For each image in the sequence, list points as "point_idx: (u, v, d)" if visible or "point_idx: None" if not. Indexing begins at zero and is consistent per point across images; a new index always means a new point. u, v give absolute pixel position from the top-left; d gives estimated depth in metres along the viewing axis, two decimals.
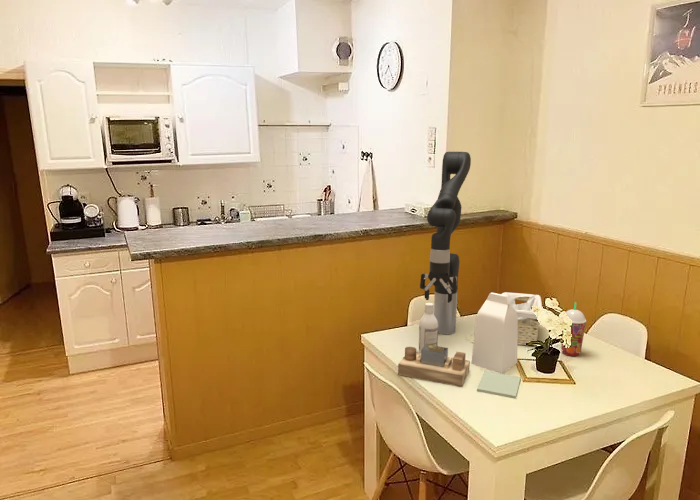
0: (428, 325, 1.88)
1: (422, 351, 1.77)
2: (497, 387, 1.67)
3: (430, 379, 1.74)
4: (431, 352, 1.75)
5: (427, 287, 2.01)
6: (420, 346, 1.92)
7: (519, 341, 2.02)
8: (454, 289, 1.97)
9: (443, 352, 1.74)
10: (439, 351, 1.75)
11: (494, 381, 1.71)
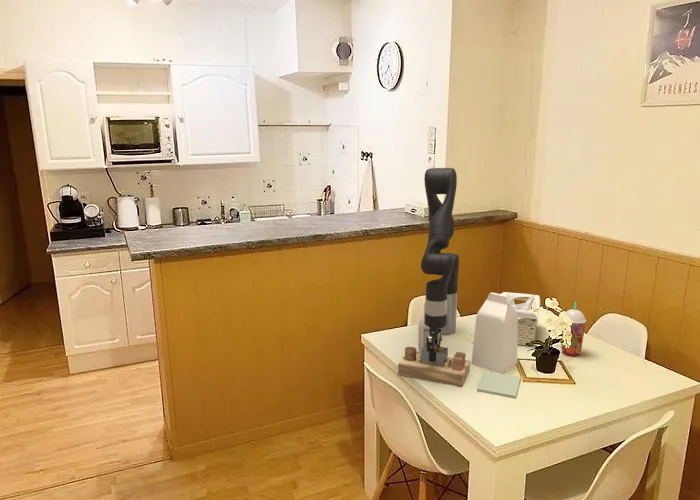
0: None
1: (422, 351, 1.77)
2: (497, 387, 1.67)
3: (430, 379, 1.74)
4: None
5: None
6: (420, 346, 1.92)
7: None
8: (441, 338, 1.81)
9: (443, 352, 1.74)
10: (439, 351, 1.75)
11: (494, 381, 1.71)
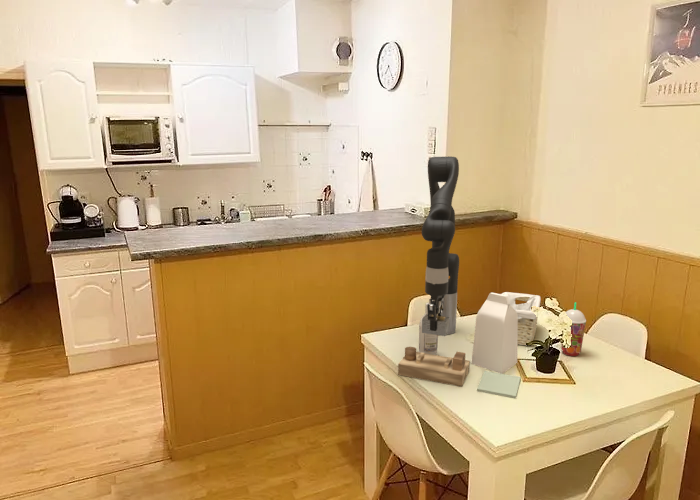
0: None
1: (423, 320, 1.74)
2: (497, 387, 1.67)
3: (430, 379, 1.74)
4: None
5: (437, 315, 1.72)
6: (420, 346, 1.92)
7: None
8: (442, 307, 1.78)
9: (444, 321, 1.72)
10: (440, 320, 1.73)
11: (494, 381, 1.71)
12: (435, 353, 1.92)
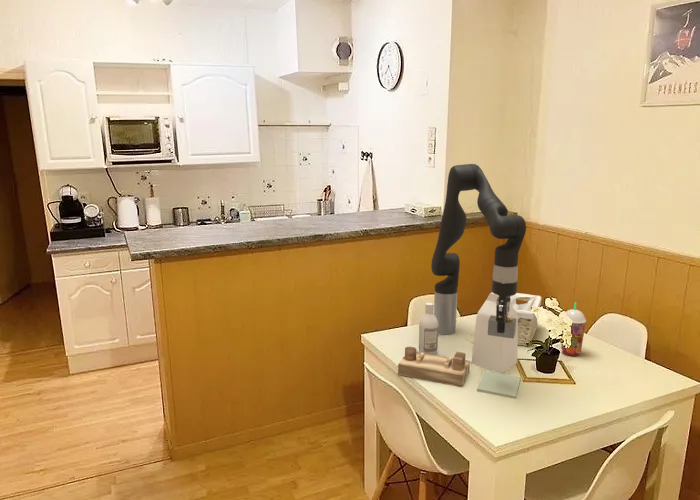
0: (427, 325, 1.88)
1: (489, 322, 1.65)
2: (497, 387, 1.67)
3: (430, 379, 1.74)
4: None
5: (505, 317, 1.62)
6: (420, 346, 1.92)
7: None
8: None
9: (513, 322, 1.63)
10: (508, 321, 1.63)
11: (494, 381, 1.71)
12: (435, 353, 1.92)
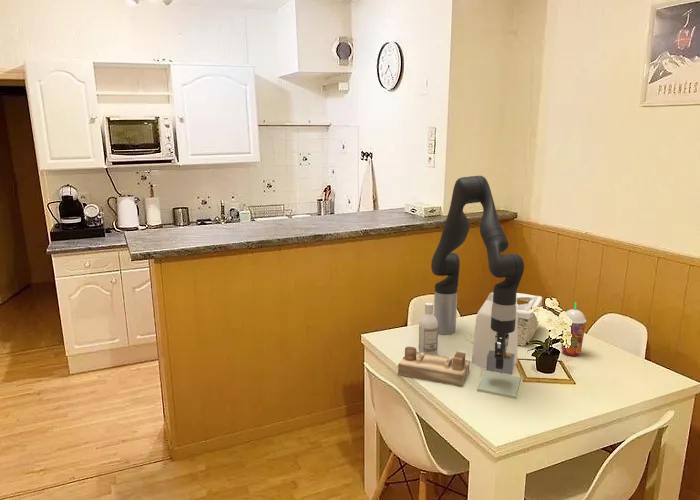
0: (427, 325, 1.88)
1: (488, 357, 1.68)
2: (497, 387, 1.67)
3: (430, 379, 1.74)
4: None
5: None
6: (420, 346, 1.92)
7: None
8: None
9: (511, 358, 1.65)
10: (506, 357, 1.66)
11: (494, 381, 1.71)
12: (435, 353, 1.92)
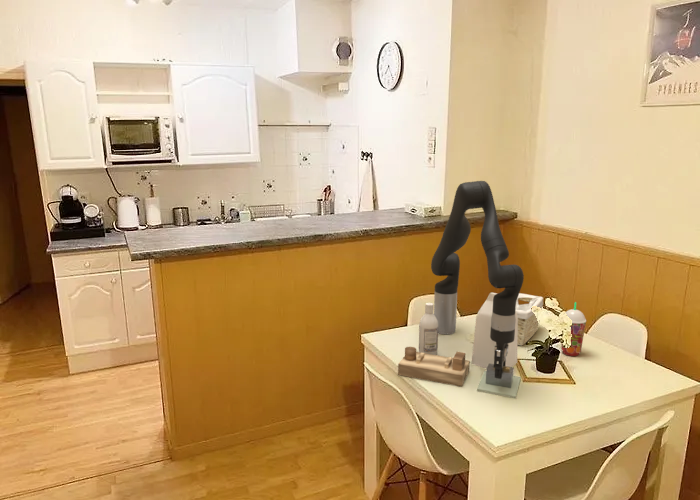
0: (427, 325, 1.88)
1: (487, 371, 1.69)
2: (497, 387, 1.67)
3: (430, 379, 1.74)
4: None
5: (502, 363, 1.64)
6: (420, 346, 1.92)
7: None
8: None
9: (510, 372, 1.67)
10: (506, 371, 1.67)
11: None
12: (435, 353, 1.92)
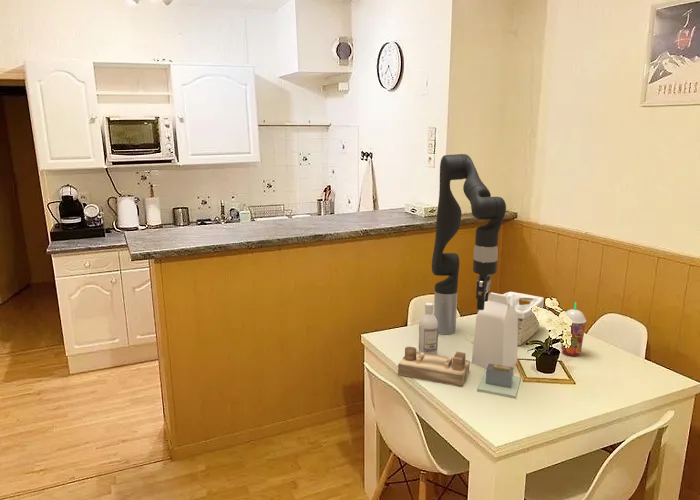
0: (427, 325, 1.88)
1: (487, 371, 1.69)
2: (497, 387, 1.67)
3: (430, 379, 1.74)
4: (497, 372, 1.68)
5: (485, 294, 1.66)
6: (420, 346, 1.92)
7: None
8: None
9: (510, 372, 1.67)
10: (506, 371, 1.67)
11: None
12: (435, 353, 1.92)
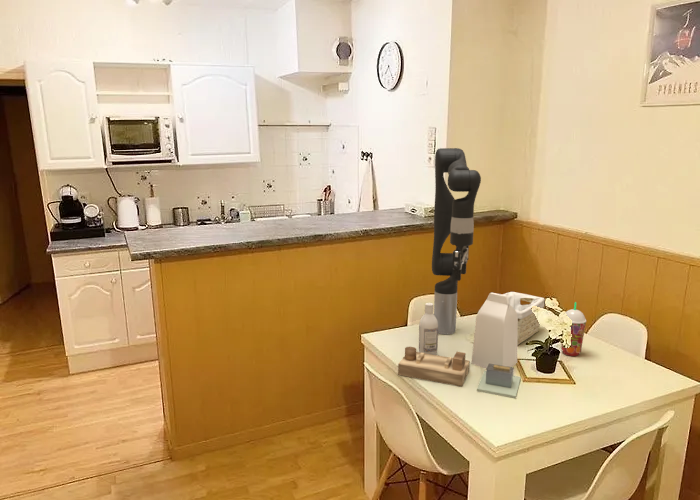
0: (427, 325, 1.88)
1: (487, 371, 1.69)
2: (497, 387, 1.67)
3: (430, 379, 1.74)
4: (497, 372, 1.68)
5: (461, 265, 1.71)
6: (420, 346, 1.92)
7: None
8: None
9: (510, 372, 1.67)
10: (506, 371, 1.67)
11: None
12: (435, 353, 1.92)
